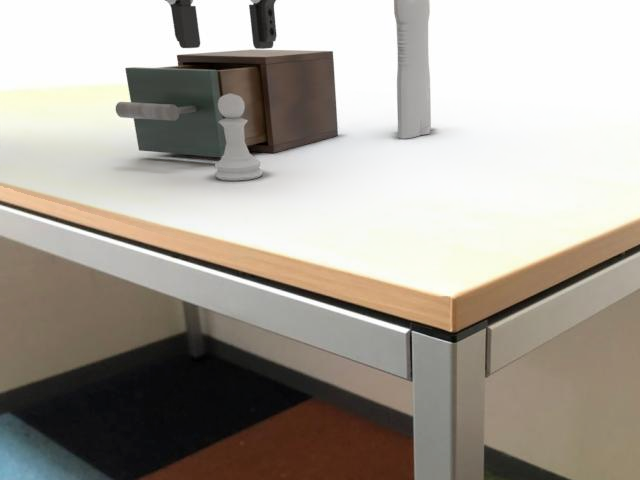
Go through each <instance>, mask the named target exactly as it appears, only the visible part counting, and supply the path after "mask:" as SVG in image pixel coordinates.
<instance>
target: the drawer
mask: <svg viewBox="0 0 640 480" xmlns="http://www.w3.org/2000/svg"><path fill="white" fill-rule="evenodd" d="M260 65H261V64H230V63H204V64H193V65H182V66H178V65H173V66H160V67H159V66H158V67H142V66H141V67H138V66H137V67H136V66H133V67H132V66H131V67H125V68H124V69H125V75H126V82H127V88H128V94H129V99H130V101H119V102H117V103H116V105H115V113H116V115H117V116H118V117H120V118H123V119H133V123H134V130H135V136H136V142H137V147H138V151H139V152H140V151H141V152H154V153H165V154H177V155H189V156H201V157H211V158H212V157H213V158H214V157H215V158H221V157H222V156H223V155H224V151H225V147H226V138H225V133H224V127H223V126H222V125H221V124H220V123H219V122H218V121H220V120H223V119H224V118H225V117H224V116H223V115H222V114H221V113H220V111H219V109H218V101H219V99H220V97H222V96H224V95H227V94H229V93H231V94H234V95H238V96H240V97H241V98H242V100H243V101H244V105H245V109H244V112H243V114H242V115H241V116H240V118H242V119H245V120H248V121H247V123H246V124H245V125H244V138H245V144H246V146H249V145H253V144H258V143H262V142H266V141H268V138H267V128H266V118H265V108H264V97H263V87H262V77H261V67H260Z"/></svg>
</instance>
